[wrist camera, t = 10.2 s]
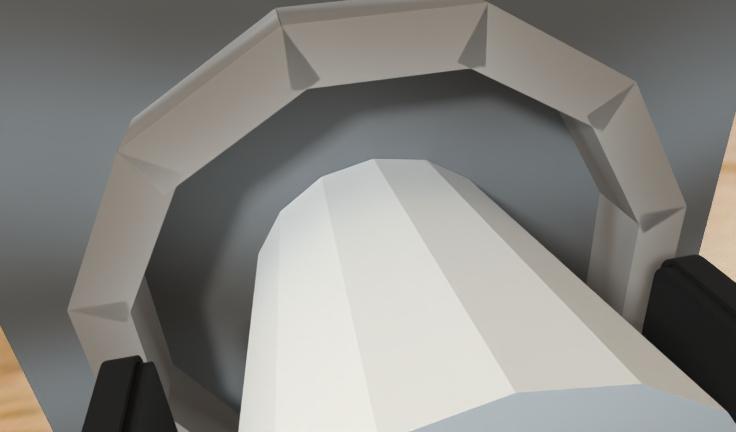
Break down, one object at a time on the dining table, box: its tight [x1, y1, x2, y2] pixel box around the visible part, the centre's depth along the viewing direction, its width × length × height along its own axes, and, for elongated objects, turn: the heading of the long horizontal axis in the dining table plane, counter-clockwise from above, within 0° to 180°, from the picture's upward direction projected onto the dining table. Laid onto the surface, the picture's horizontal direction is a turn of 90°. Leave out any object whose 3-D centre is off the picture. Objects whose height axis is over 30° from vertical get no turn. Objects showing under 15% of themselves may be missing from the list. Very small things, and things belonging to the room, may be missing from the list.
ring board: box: [0, 0, 736, 432], centre depth 13 cm, size 20×16×3 cm
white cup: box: [238, 159, 736, 432], centre depth 10 cm, size 7×7×7 cm
